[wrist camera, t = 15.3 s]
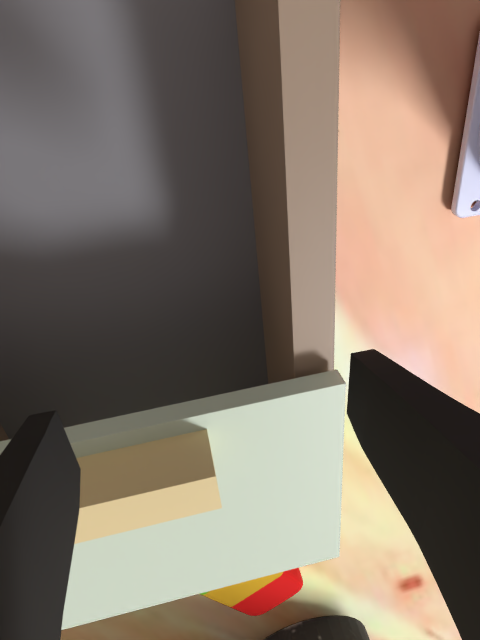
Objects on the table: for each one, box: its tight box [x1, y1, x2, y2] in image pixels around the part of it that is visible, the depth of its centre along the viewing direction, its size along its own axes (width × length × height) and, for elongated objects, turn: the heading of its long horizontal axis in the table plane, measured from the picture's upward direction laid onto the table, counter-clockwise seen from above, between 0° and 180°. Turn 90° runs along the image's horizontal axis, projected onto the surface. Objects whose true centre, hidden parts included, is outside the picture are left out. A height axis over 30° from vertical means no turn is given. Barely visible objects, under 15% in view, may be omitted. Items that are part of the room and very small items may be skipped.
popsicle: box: [200, 568, 303, 616], centre depth 32 cm, size 6×15×2 cm, turn 39°
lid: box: [0, 370, 346, 630], centre depth 17 cm, size 16×11×3 cm
